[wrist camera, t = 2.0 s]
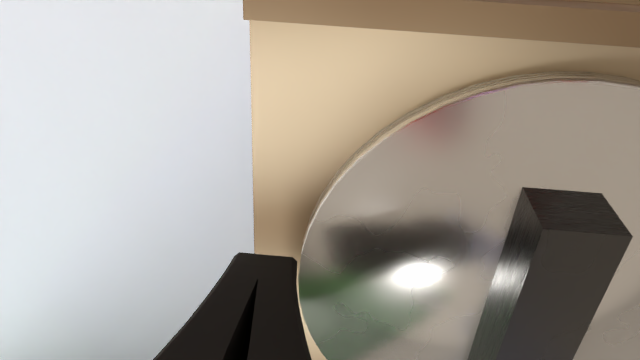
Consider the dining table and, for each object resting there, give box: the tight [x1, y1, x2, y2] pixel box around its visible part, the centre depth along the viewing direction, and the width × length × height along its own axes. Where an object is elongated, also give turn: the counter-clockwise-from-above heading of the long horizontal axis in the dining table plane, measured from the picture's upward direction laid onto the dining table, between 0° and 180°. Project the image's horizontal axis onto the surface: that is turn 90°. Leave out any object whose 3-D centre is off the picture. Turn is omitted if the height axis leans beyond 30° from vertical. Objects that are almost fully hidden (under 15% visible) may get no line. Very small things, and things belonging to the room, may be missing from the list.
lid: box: [298, 71, 640, 360], centre depth 12 cm, size 11×11×2 cm
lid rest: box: [243, 0, 640, 360], centre depth 14 cm, size 13×13×5 cm
